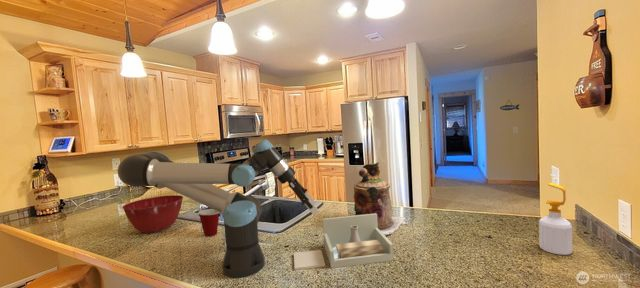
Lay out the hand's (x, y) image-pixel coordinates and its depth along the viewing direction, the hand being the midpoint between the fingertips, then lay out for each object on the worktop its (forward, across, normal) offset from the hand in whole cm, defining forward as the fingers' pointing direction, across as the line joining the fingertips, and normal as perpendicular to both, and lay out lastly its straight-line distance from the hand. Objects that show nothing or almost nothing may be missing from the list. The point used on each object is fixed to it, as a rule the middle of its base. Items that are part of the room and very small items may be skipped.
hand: (315, 208), depth 116 cm
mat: (+10, -14, +13) cm, 22 cm away
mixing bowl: (-37, +43, +78) cm, 96 cm away
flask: (+21, -11, -2) cm, 24 cm away
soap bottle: (+63, -28, -60) cm, 91 cm away
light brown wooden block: (+21, -18, -2) cm, 28 cm away
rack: (+21, -13, -2) cm, 25 cm away
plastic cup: (-17, +25, +50) cm, 59 cm away
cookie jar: (+30, +14, -15) cm, 36 cm away
